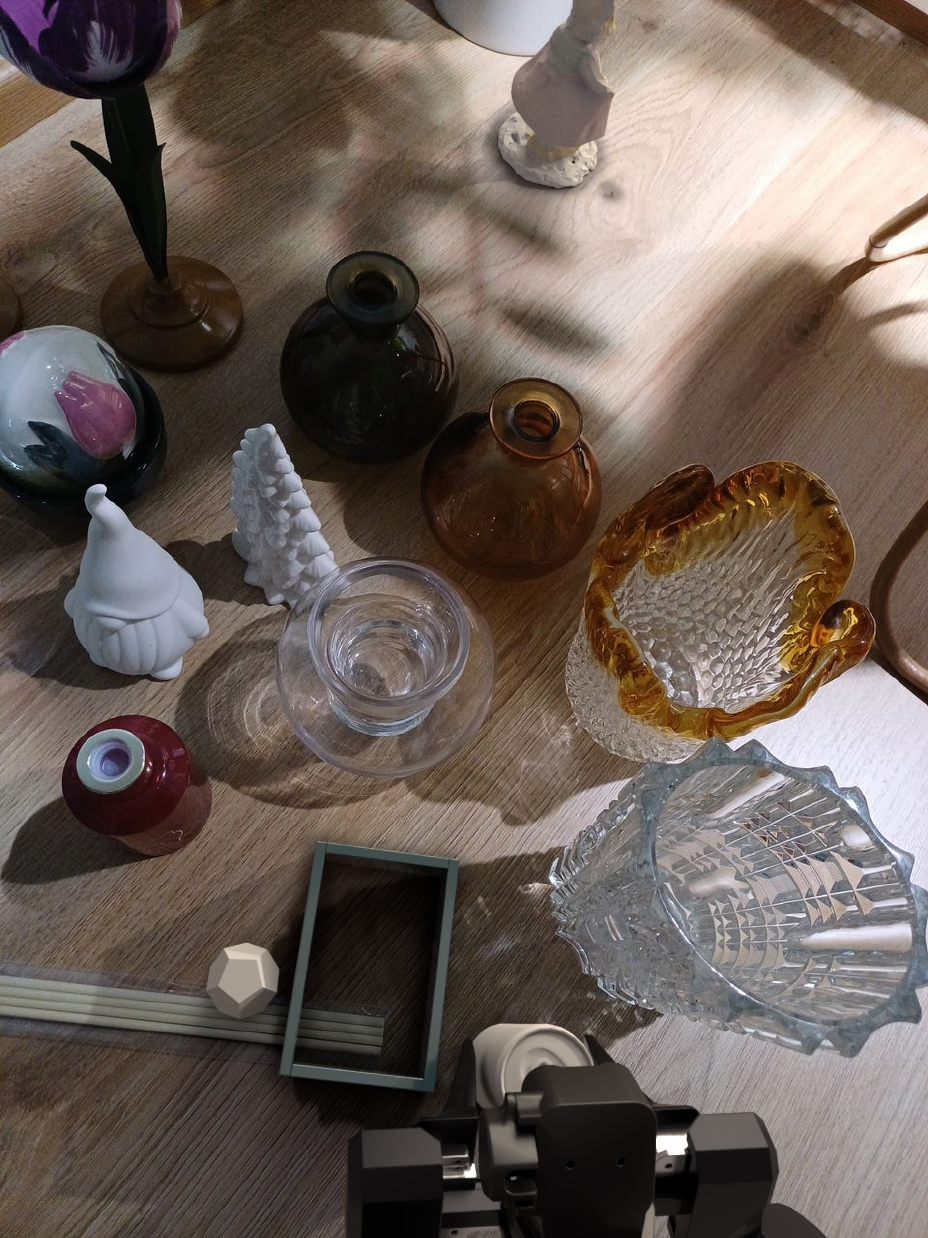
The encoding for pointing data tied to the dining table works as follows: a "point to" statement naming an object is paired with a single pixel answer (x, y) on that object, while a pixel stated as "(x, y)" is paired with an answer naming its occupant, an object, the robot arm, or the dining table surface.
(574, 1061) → the beverage can
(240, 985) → the polyhedron
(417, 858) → the bottomless rectangular frame
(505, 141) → the figurine
